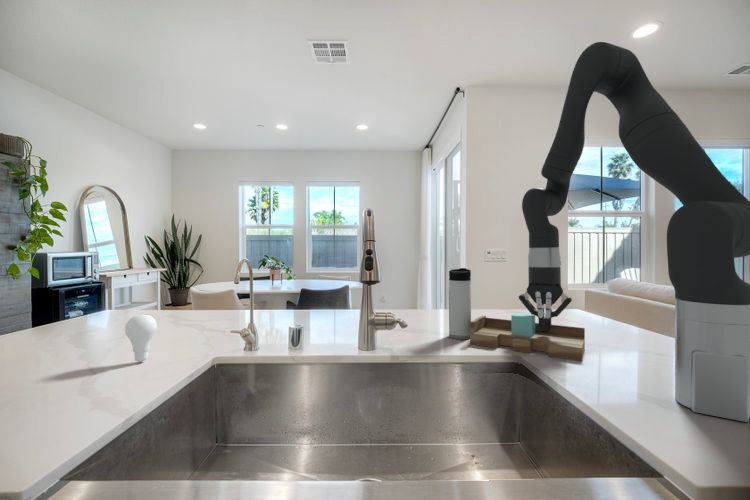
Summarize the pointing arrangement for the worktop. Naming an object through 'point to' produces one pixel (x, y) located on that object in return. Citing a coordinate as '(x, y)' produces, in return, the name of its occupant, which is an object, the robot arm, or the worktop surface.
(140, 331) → the lightbulb
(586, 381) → the worktop surface
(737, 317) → the robot arm
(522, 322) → the teal block
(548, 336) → the walnut tray
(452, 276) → the travel mug
